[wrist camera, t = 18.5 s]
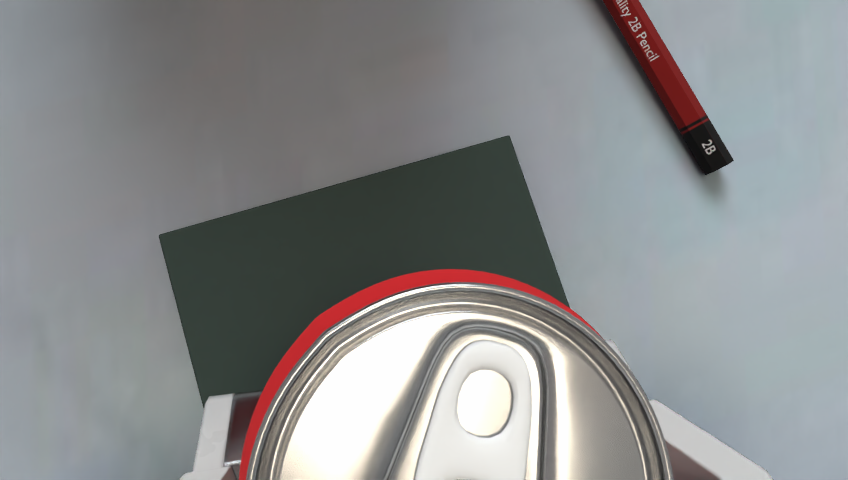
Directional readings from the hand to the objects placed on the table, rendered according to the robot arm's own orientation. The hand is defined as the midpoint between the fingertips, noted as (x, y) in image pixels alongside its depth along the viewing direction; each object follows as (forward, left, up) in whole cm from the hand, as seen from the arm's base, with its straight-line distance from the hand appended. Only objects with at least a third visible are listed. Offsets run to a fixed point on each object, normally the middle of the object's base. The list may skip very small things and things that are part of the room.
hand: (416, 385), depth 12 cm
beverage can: (0, +1, -6) cm, 7 cm away
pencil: (-11, -10, -7) cm, 17 cm away
